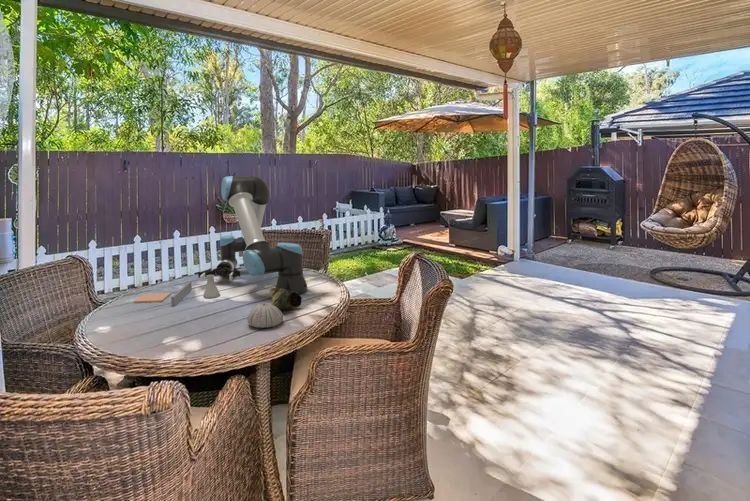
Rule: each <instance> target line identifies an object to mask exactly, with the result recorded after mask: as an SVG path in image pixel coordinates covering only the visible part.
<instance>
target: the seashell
mask: <svg viewBox="0 0 750 501" xmlns="http://www.w3.org/2000/svg"><path fill="white" fill-rule="evenodd" d="M269 290H270V291H269V293H270V297H271V301H270V304H272V305H274V306H276V307H277V308H278V309H279V310H280V311H287V310H296V309H297V308H299V307H300V306H301V305H302V303H303V302H302V296H301V294H298V293H297V292H295V291H292V292H288V291H287V290H286V289H278V288H275V287H270V288H269Z"/></svg>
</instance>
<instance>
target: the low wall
mask: <svg viewBox="0 0 750 501" xmlns="http://www.w3.org/2000/svg"><path fill="white" fill-rule="evenodd" d="M192 289H193V286H192V281H187V283H186V284H184V285H182V287H181V288H180V289H179V290H178V291H176V293H174V294H173V295H172V296H171V297H170V300H171V302H170V303H171V307H176V306H177V305H178V304H179V303H180V302H181V301H182V300H183V299H184V298H185V297H186V296H187V295H188V294H189V293H190V292H191V291H192Z"/></svg>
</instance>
